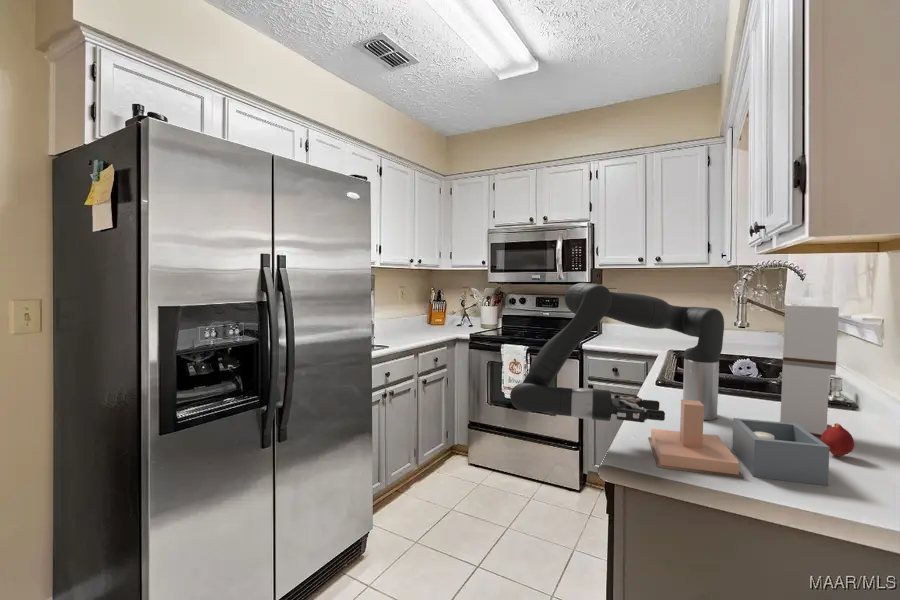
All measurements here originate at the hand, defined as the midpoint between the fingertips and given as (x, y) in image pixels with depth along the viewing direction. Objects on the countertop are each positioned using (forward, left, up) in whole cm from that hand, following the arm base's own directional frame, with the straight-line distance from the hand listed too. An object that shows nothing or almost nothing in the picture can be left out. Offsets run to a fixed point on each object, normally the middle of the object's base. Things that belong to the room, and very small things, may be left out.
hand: (661, 410), depth 104 cm
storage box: (0, +24, -10) cm, 26 cm away
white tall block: (-27, +40, -11) cm, 49 cm away
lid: (0, +7, -10) cm, 12 cm away
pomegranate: (-11, +40, -11) cm, 42 cm away
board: (0, +7, -10) cm, 12 cm away
